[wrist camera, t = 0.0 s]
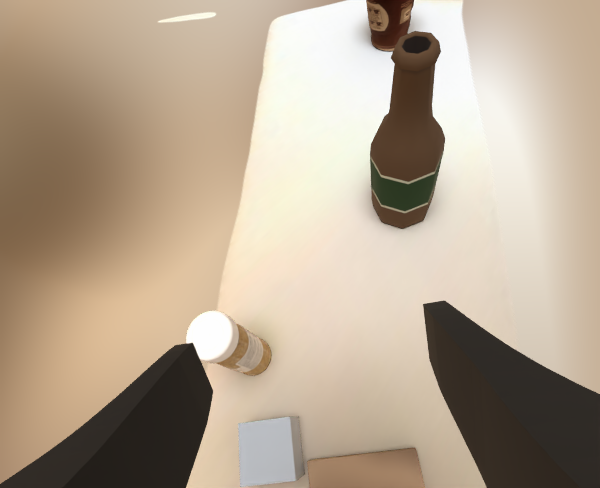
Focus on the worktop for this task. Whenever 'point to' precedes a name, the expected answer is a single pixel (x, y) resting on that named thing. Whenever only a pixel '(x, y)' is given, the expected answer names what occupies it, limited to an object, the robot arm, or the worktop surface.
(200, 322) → the sprinkles bottle
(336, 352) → the worktop surface
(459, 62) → the worktop surface
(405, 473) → the plinth
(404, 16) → the coffee cup
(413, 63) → the beer bottle
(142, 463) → the robot arm
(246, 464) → the block
